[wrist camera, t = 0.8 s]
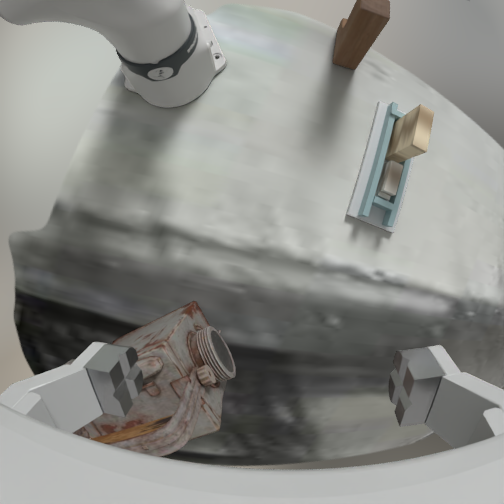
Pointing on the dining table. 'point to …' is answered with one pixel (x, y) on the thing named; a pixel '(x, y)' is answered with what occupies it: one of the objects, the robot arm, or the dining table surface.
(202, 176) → the dining table surface
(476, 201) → the dining table surface
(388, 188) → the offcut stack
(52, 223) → the dining table surface
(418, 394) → the robot arm
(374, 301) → the dining table surface
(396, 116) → the rack
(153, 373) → the lantern
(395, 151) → the beige rectangular slab
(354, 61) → the wooden block
